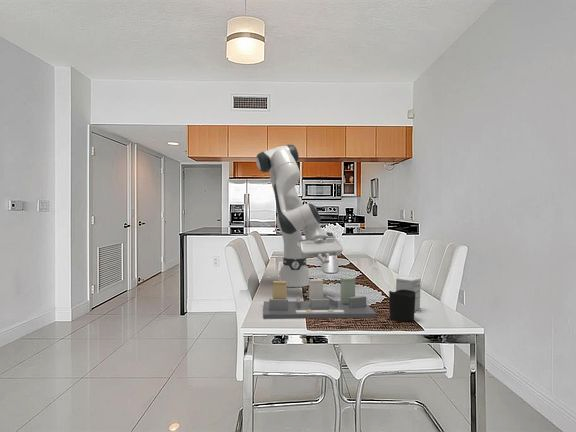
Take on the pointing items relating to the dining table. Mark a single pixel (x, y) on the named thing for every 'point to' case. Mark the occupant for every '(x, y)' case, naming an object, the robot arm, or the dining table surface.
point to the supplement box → (410, 287)
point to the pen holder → (402, 305)
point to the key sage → (347, 289)
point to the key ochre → (279, 289)
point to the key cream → (315, 289)
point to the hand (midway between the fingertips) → (325, 262)
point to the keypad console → (318, 308)
